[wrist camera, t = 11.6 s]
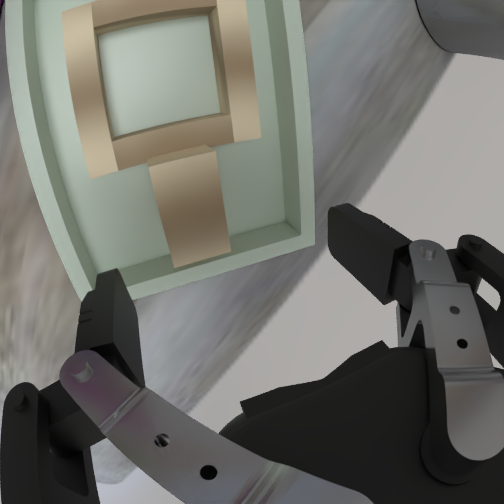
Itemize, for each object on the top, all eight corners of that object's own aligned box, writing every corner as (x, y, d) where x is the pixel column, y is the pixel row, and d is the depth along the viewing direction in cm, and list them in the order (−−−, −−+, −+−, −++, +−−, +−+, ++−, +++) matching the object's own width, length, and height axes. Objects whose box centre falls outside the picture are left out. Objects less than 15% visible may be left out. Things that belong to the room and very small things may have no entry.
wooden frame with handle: (69, 21, 10) (52, 0, 7) (231, -8, 12) (258, -32, 9) (119, 248, 17) (118, 285, 14) (256, 209, 20) (284, 236, 16)
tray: (266, -47, 12) (288, -64, 9) (293, 226, 22) (314, 244, 20) (22, -5, 8) (6, -20, 5) (90, 285, 18) (87, 313, 16)
